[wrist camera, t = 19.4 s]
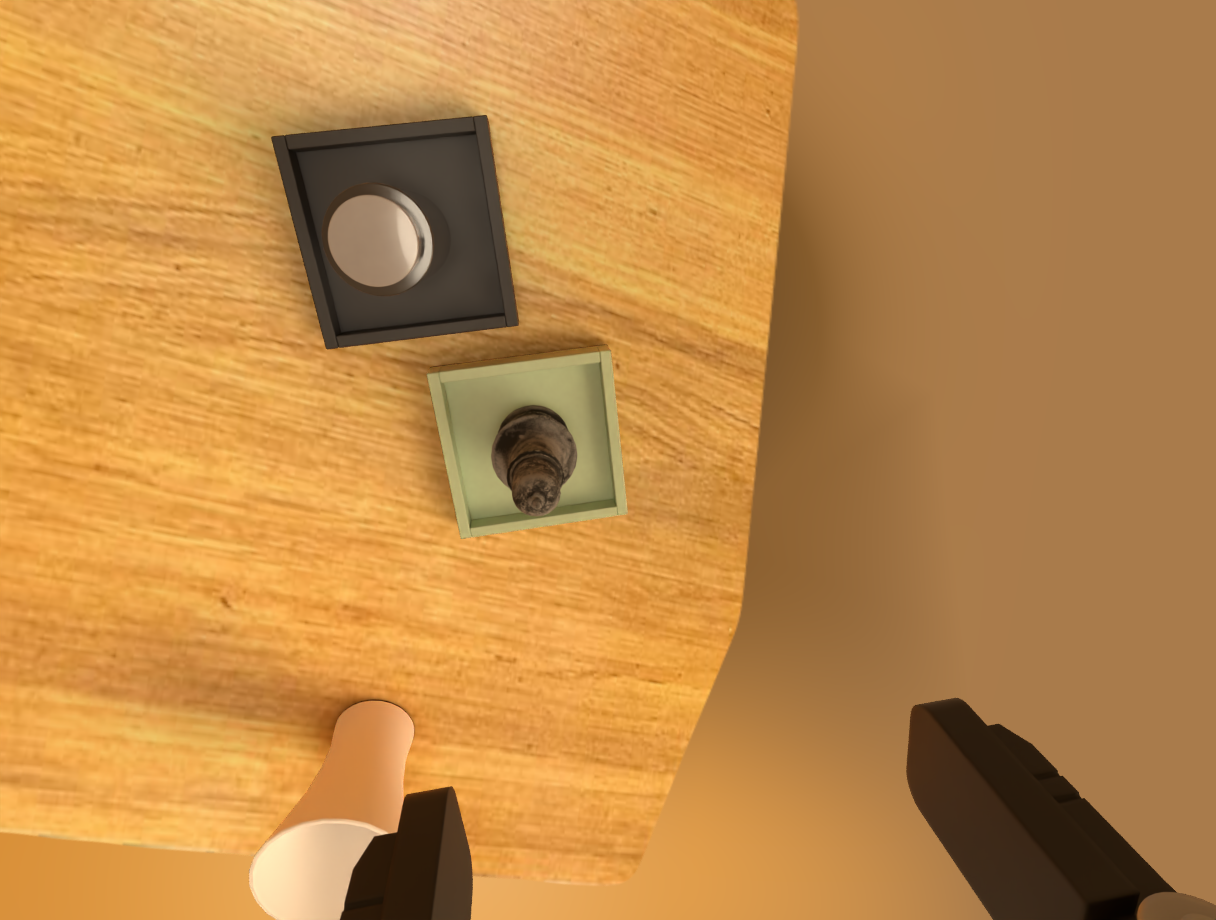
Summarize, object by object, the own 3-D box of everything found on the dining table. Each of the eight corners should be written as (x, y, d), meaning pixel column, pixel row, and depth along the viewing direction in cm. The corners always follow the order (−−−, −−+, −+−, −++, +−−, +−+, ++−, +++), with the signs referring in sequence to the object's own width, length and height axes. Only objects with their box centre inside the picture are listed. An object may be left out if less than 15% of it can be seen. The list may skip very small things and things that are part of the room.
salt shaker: (573, 476, 49) (588, 551, 38) (494, 477, 49) (486, 555, 37) (574, 400, 47) (590, 457, 36) (491, 401, 47) (482, 458, 35)
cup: (425, 784, 58) (398, 939, 46) (302, 769, 56) (239, 928, 44) (449, 690, 55) (428, 829, 43) (320, 670, 53) (258, 811, 41)
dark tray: (488, 119, 41) (486, 114, 39) (518, 321, 46) (518, 325, 44) (282, 140, 40) (270, 136, 38) (334, 344, 45) (325, 349, 43)
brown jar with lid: (441, 185, 41) (417, 175, 32) (458, 276, 43) (440, 292, 34) (352, 195, 41) (301, 187, 32) (372, 286, 43) (330, 305, 34)
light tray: (607, 344, 47) (610, 349, 45) (624, 503, 51) (627, 514, 49) (430, 367, 46) (426, 373, 44) (463, 527, 50) (460, 539, 48)
